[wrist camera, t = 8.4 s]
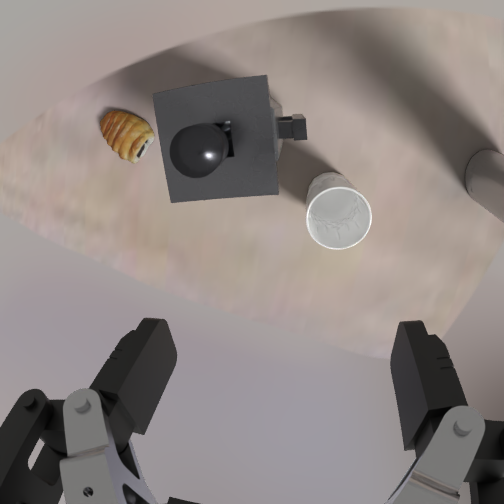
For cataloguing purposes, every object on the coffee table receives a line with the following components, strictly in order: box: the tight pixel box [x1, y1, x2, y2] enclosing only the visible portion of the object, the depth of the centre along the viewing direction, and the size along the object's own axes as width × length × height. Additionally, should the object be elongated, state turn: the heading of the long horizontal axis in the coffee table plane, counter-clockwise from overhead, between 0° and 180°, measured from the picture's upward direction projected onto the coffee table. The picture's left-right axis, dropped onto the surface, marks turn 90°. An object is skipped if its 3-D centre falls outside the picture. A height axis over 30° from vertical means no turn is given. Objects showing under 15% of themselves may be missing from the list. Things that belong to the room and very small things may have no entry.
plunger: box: [170, 121, 234, 178], centre depth 26 cm, size 8×8×15 cm
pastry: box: [100, 110, 154, 164], centre depth 42 cm, size 9×7×4 cm
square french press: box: [153, 75, 307, 203], centre depth 32 cm, size 13×10×19 cm
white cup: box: [306, 172, 372, 249], centre depth 40 cm, size 8×8×10 cm
